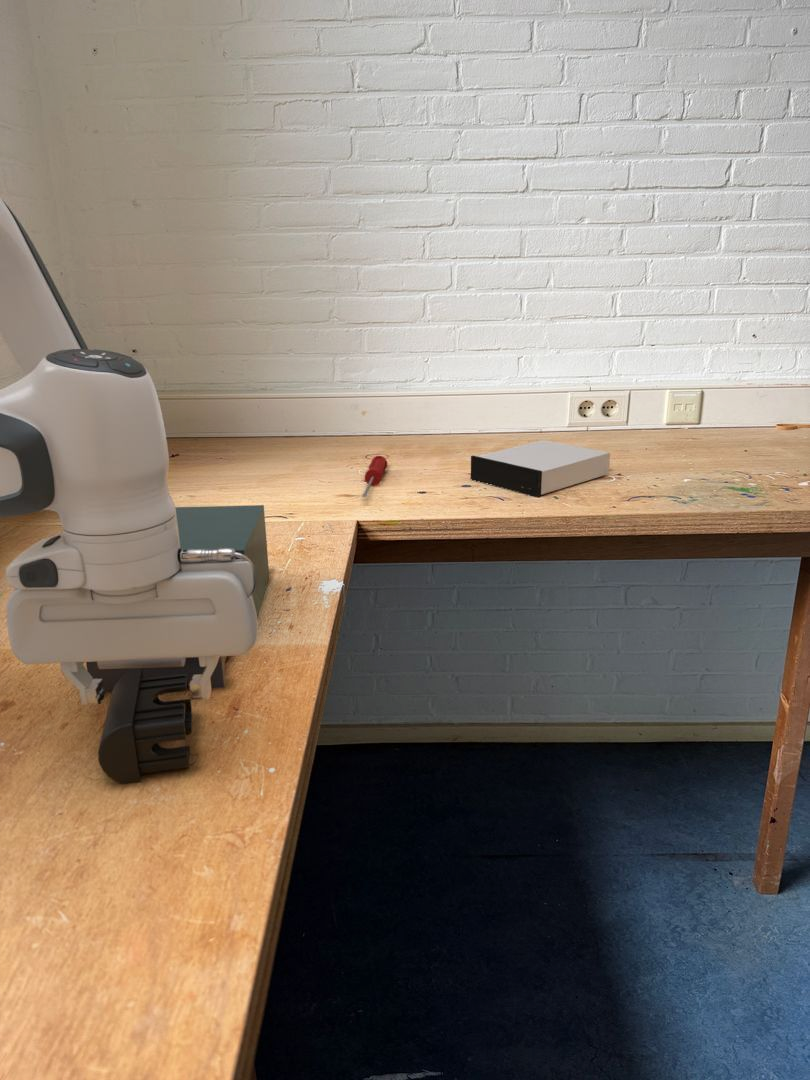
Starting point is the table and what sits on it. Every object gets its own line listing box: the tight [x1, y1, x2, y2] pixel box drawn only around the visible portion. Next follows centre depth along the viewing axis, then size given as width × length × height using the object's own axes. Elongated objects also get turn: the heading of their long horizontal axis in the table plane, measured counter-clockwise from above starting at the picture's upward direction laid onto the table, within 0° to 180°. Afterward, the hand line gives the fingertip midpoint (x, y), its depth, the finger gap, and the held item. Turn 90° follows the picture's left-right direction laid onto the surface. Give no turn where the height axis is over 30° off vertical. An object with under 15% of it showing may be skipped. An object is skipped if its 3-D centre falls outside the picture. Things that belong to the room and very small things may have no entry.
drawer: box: [85, 557, 236, 693], centre depth 86 cm, size 21×14×9 cm, turn 2°
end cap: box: [97, 668, 193, 785], centre depth 71 cm, size 10×7×7 cm
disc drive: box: [470, 439, 611, 498], centre depth 161 cm, size 18×22×5 cm
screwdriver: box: [361, 455, 388, 498], centre depth 156 cm, size 4×25×4 cm, turn 175°
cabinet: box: [175, 504, 270, 615], centre depth 103 cm, size 18×15×11 cm
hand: (147, 699), depth 70 cm, fingers open, 8 cm apart
